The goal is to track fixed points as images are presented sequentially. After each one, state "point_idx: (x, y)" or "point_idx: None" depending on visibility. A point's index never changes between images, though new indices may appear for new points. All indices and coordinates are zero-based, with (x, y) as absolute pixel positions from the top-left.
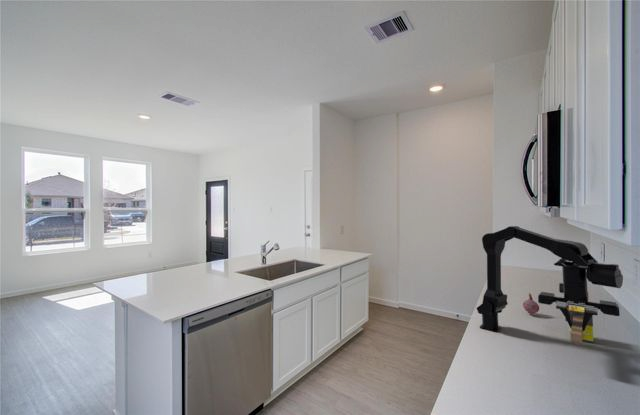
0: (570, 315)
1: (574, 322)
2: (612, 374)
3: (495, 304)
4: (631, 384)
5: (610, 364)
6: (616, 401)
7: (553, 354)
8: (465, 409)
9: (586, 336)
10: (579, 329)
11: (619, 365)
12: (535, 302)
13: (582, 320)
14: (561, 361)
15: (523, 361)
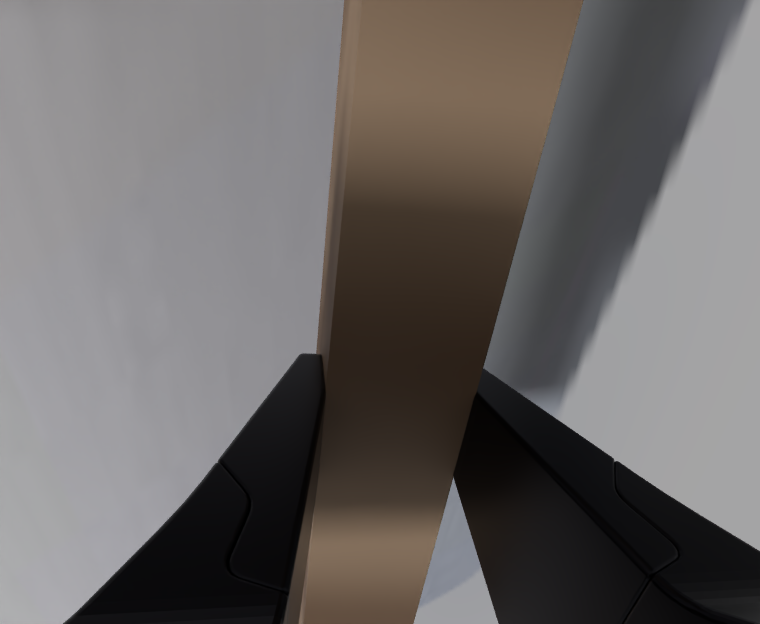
0: (303, 537)
1: (366, 329)
2: (503, 334)
3: None
4: (556, 394)
5: (545, 170)
6: (440, 563)
7: (168, 241)
8: None
9: None
10: (397, 585)
11: (603, 148)
12: None
13: (565, 42)
14: (235, 336)
15: (32, 479)
